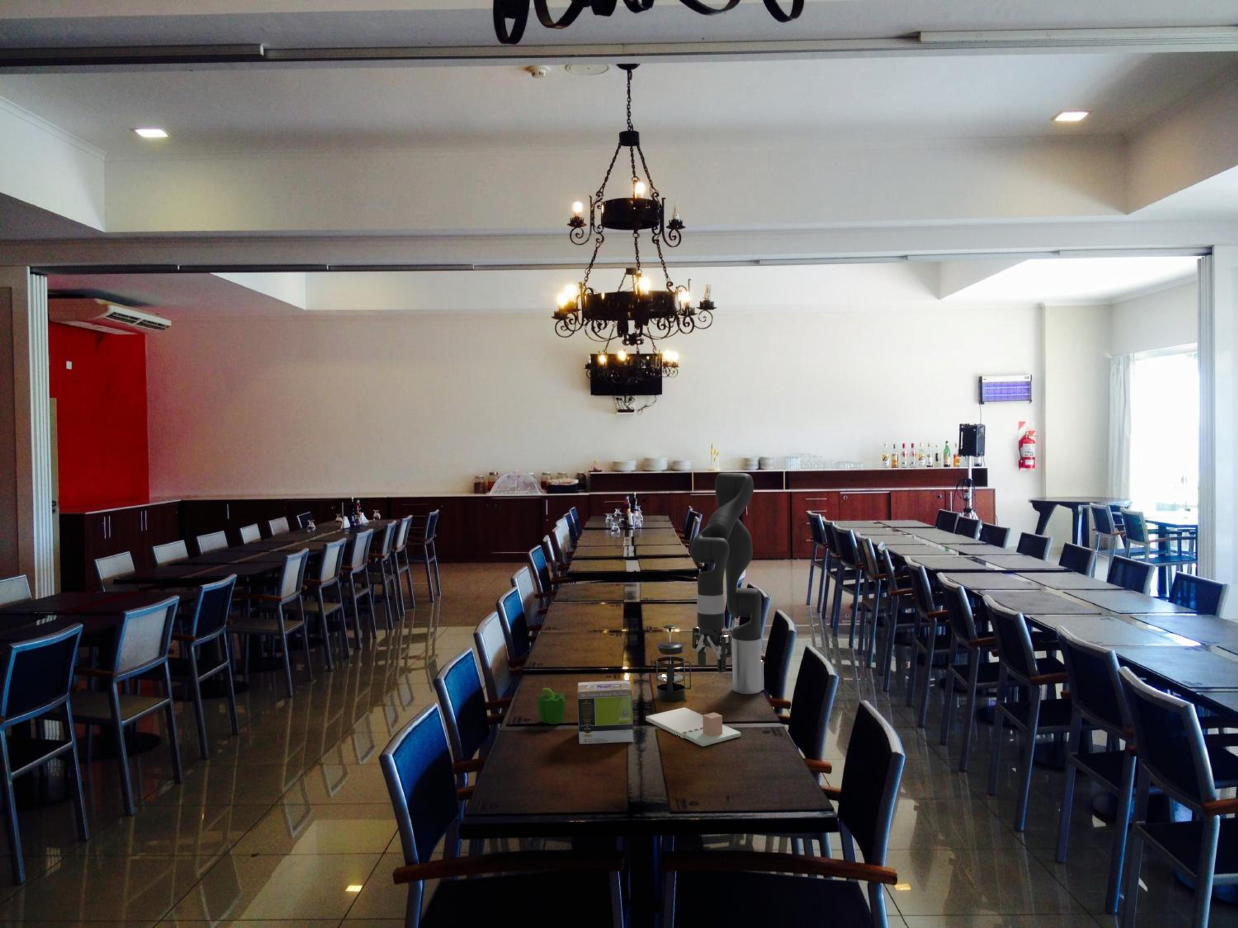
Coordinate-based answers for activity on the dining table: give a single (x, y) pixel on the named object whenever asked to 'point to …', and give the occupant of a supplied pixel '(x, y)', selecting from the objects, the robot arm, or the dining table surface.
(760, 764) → the dining table surface
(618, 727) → the tea box
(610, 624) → the dining table surface
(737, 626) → the robot arm
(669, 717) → the white notebook
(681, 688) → the french press
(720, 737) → the stub
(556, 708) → the bell pepper
